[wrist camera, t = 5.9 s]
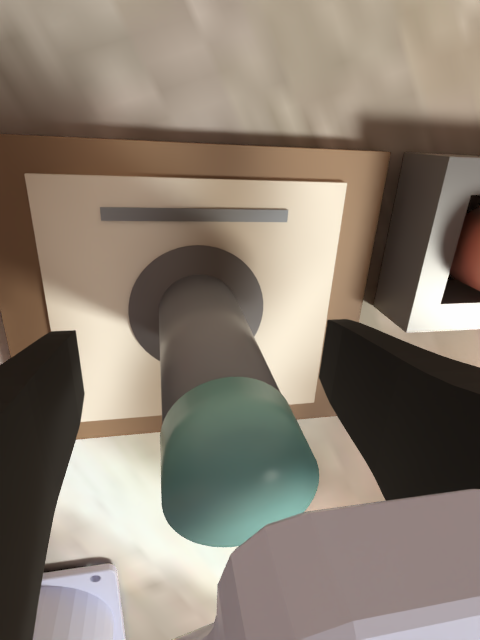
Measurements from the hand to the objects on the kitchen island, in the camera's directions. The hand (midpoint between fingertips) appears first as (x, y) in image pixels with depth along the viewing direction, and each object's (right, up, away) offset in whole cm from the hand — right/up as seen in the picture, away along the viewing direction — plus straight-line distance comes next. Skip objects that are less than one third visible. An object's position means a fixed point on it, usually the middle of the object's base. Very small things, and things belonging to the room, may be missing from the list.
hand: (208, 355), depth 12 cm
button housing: (+10, +4, +5) cm, 12 cm away
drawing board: (-1, +2, +4) cm, 4 cm away
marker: (-1, +1, +3) cm, 3 cm away
